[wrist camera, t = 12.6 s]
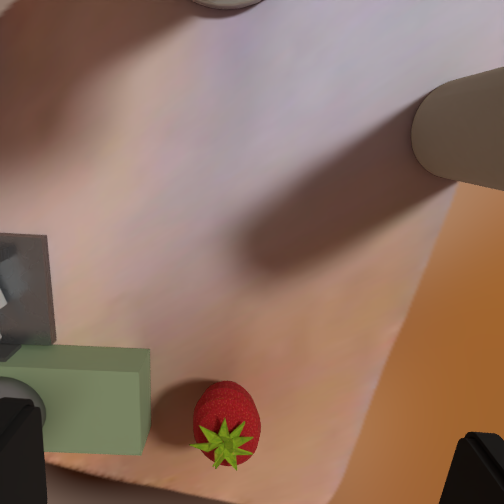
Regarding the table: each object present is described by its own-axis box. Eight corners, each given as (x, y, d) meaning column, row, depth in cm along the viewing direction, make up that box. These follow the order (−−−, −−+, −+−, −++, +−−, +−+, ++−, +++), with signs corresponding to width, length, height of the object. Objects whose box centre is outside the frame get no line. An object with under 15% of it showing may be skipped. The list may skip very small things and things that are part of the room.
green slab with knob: (-102, 334, 38) (-164, 369, 32) (149, 345, 39) (132, 382, 33) (-84, 416, 41) (-139, 462, 35) (151, 425, 41) (135, 472, 36)
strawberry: (209, 423, 41) (198, 510, 32) (192, 360, 39) (174, 433, 30) (265, 413, 41) (270, 498, 31) (250, 350, 39) (251, 420, 29)
